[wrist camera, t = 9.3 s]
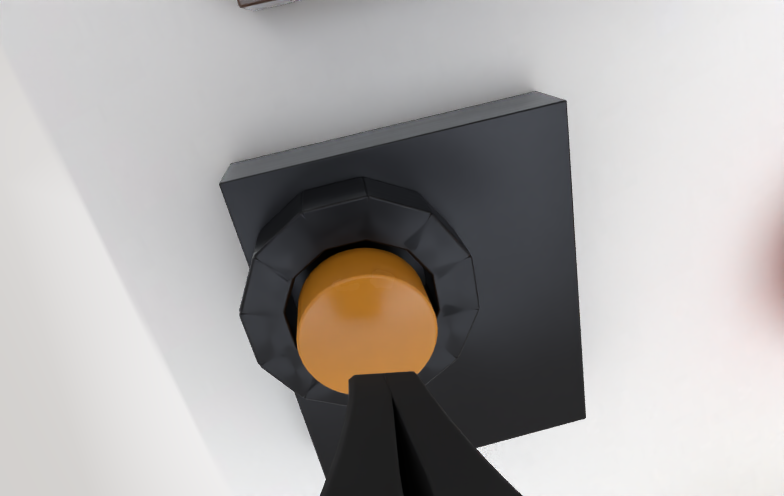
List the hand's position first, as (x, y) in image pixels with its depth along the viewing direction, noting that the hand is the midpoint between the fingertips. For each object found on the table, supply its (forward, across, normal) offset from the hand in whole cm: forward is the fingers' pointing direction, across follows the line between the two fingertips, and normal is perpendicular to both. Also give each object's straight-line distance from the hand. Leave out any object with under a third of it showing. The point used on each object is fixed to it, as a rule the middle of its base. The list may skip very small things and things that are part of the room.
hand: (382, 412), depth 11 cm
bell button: (+4, 0, 0) cm, 4 cm away
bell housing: (+8, -2, +2) cm, 9 cm away
